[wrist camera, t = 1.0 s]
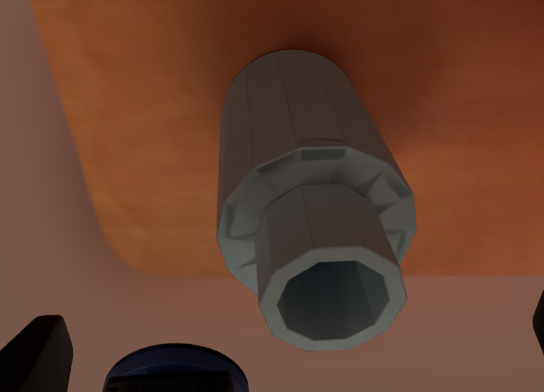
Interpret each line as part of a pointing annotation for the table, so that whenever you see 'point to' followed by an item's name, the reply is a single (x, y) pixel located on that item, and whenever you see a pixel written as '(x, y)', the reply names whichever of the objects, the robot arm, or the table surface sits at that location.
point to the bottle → (311, 203)
